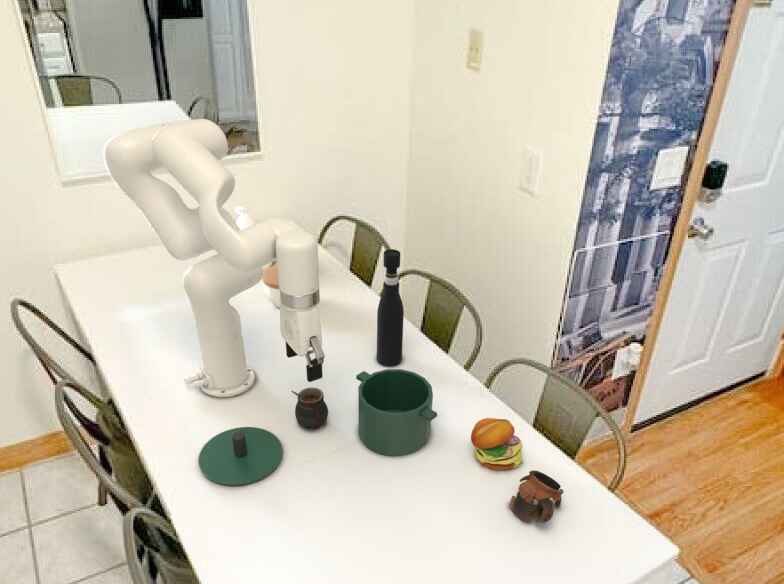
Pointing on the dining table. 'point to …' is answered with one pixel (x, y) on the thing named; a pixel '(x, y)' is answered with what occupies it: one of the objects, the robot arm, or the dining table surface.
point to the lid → (240, 455)
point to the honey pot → (247, 225)
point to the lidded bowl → (271, 285)
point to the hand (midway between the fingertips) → (304, 367)
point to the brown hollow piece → (536, 497)
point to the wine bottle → (390, 314)
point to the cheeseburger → (496, 444)
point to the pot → (394, 411)
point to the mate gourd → (311, 408)
